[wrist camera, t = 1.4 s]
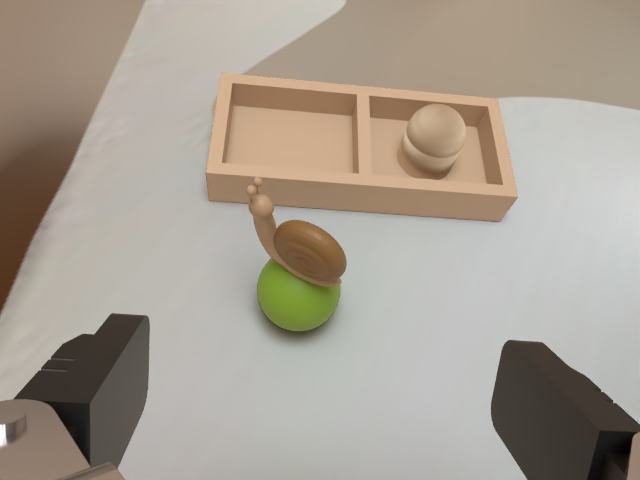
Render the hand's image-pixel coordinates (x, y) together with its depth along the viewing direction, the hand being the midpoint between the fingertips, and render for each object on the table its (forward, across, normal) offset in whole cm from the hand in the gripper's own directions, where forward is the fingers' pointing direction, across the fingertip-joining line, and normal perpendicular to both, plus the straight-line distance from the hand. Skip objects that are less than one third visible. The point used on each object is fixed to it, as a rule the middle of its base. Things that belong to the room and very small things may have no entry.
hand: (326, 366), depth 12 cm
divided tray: (+33, -5, -2) cm, 34 cm away
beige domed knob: (+33, -11, -2) cm, 34 cm away
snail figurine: (+24, 0, +8) cm, 26 cm away
